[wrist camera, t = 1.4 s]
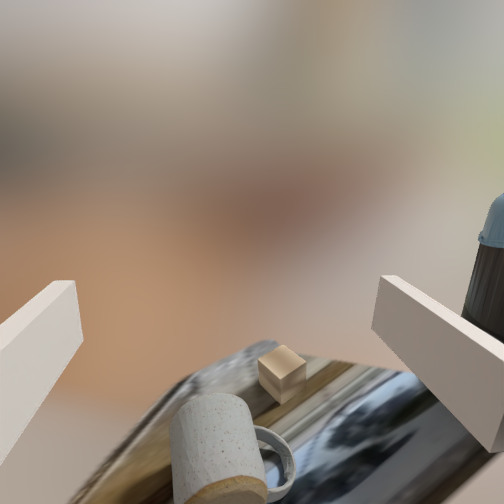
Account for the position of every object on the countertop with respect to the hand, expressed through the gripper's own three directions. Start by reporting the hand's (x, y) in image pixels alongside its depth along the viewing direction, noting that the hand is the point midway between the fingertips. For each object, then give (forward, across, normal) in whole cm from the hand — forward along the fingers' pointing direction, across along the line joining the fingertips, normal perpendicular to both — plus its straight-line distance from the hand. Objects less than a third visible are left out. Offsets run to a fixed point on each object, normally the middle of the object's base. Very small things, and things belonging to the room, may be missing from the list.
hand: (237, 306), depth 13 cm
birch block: (+18, +8, -20) cm, 28 cm away
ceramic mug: (+8, +1, -22) cm, 24 cm away
